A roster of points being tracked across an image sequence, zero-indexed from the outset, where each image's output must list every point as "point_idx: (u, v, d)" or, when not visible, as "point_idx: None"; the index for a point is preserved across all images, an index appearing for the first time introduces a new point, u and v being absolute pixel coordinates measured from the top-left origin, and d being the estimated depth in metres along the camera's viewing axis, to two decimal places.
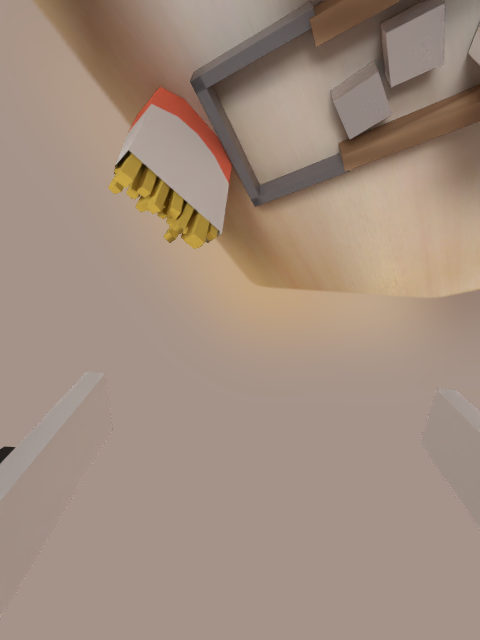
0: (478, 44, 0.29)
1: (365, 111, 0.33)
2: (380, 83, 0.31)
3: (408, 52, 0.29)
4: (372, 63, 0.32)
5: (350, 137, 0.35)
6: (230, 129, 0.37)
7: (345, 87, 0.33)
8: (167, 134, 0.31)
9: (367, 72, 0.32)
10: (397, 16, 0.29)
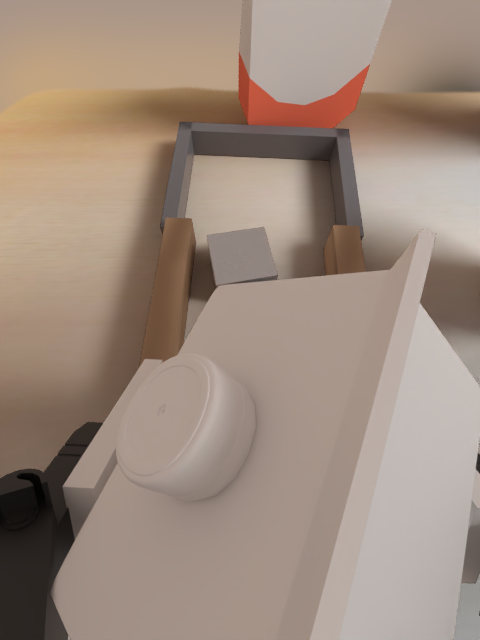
0: None
1: (235, 256, 0.24)
2: (262, 275, 0.23)
3: None
4: None
5: (209, 236, 0.25)
6: (279, 150, 0.31)
7: None
8: (352, 37, 0.26)
9: None
10: None
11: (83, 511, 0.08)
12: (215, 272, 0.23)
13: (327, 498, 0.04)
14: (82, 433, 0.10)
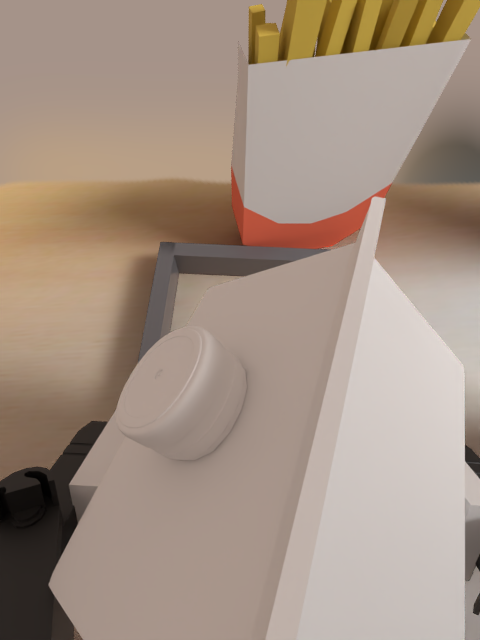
0: None
1: None
2: None
3: None
4: None
5: None
6: None
7: None
8: (372, 162, 0.21)
9: None
10: None
11: None
12: None
13: (311, 416, 0.04)
14: (87, 432, 0.10)
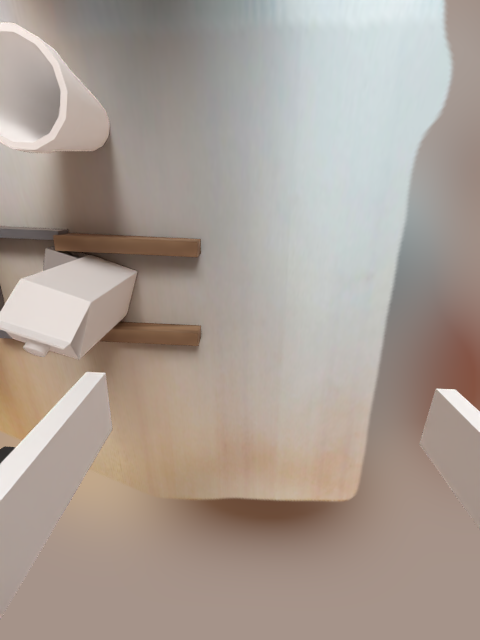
0: None
1: None
2: None
3: None
4: None
5: None
6: None
7: None
8: None
9: None
10: None
11: None
12: None
13: (32, 335, 0.30)
14: None
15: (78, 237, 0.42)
